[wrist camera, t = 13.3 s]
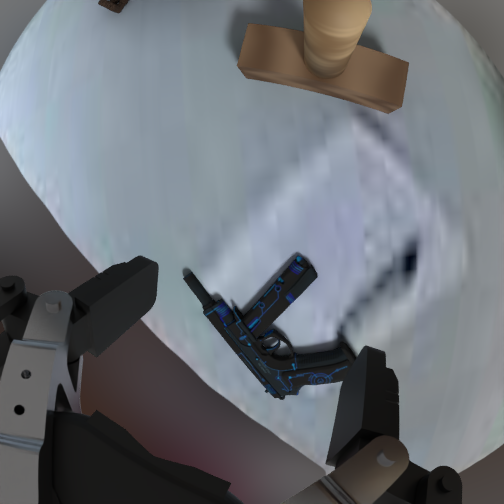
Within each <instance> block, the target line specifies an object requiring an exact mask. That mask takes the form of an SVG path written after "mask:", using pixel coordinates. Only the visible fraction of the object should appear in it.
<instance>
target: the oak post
mask: <svg viewBox="0 0 504 504" xmlns="http://www.w3.org/2000/svg"><path fill="white" fill-rule="evenodd" d="M303 11H304V62H305V65H306V67H307V69H308V70H309V71H310V72H311V73H312V74H313V75H315V76H317V77H319V78H323V79H332V78H336V77H338V76H339V75H341V74H342V73H343V72H344V70H345V68H346V66H347V64H348V62H349V60H350V58H351V55H352V53H353V51H354V49H355V47H356V45H357V42H358V40H359V38H360V36H361V34H362V32H363V30H364V27H365V25H366V23H367V21H368V19H369V17H370V14H371V11H372V5H371V1H370V0H303Z"/></svg>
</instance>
